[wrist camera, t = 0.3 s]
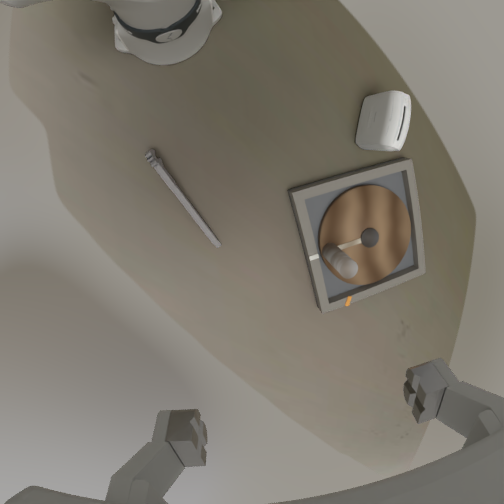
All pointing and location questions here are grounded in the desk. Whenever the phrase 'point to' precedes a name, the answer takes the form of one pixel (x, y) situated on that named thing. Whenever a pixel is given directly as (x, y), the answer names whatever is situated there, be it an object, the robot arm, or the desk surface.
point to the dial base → (316, 203)
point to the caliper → (180, 195)
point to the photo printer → (384, 121)
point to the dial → (364, 234)
